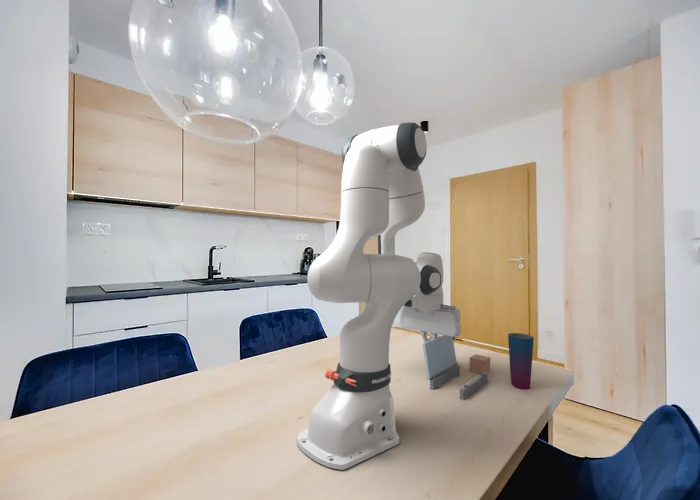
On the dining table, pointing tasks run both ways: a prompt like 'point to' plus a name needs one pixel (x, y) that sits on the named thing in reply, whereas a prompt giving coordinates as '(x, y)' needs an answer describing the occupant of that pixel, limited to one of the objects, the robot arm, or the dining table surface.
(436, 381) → the grey rail
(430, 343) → the cover
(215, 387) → the dining table surface
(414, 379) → the dining table surface
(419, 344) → the dining table surface
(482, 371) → the block
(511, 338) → the cup
